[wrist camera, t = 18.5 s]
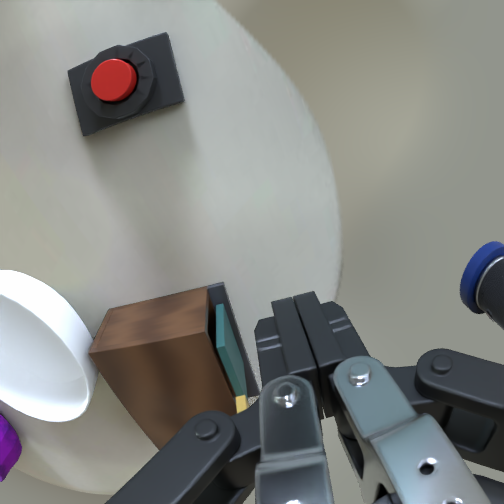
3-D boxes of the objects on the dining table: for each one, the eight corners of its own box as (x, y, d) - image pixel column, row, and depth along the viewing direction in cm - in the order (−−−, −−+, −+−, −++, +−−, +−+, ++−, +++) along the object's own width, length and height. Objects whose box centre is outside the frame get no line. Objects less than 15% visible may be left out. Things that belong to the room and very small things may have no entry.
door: (224, 302, 34) (227, 369, 25) (244, 362, 38) (252, 429, 28) (215, 304, 34) (215, 372, 25) (236, 364, 38) (242, 431, 28)
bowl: (127, 297, 34) (106, 345, 26) (94, 397, 40) (80, 441, 32) (-10, 227, 29) (-52, 256, 21) (-15, 340, 35) (-40, 375, 27)
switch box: (168, 34, 24) (163, 26, 21) (185, 101, 27) (181, 99, 24) (72, 72, 24) (58, 68, 21) (87, 135, 27) (75, 138, 24)
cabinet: (223, 281, 34) (225, 326, 27) (259, 391, 41) (267, 438, 34) (108, 308, 34) (87, 353, 27) (166, 408, 42) (161, 452, 34)
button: (131, 56, 22) (126, 52, 21) (140, 93, 24) (135, 91, 22) (94, 71, 22) (86, 68, 21) (103, 107, 24) (95, 107, 22)
